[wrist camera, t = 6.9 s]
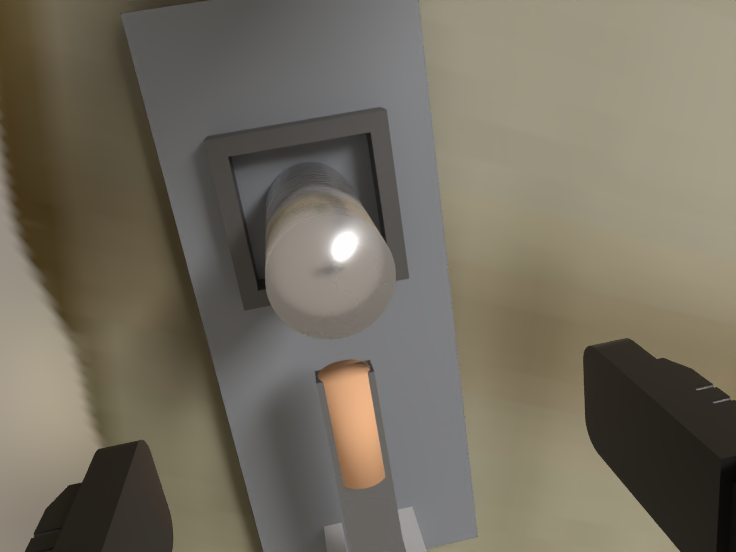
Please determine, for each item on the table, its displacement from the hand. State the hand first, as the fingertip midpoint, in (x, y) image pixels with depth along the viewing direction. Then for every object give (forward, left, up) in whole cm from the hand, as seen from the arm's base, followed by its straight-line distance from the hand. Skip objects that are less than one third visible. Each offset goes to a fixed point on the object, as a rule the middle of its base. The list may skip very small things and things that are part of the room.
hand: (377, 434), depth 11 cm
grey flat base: (+6, 0, -20) cm, 21 cm away
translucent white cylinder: (0, 0, -18) cm, 18 cm away
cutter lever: (+15, 0, -14) cm, 20 cm away
